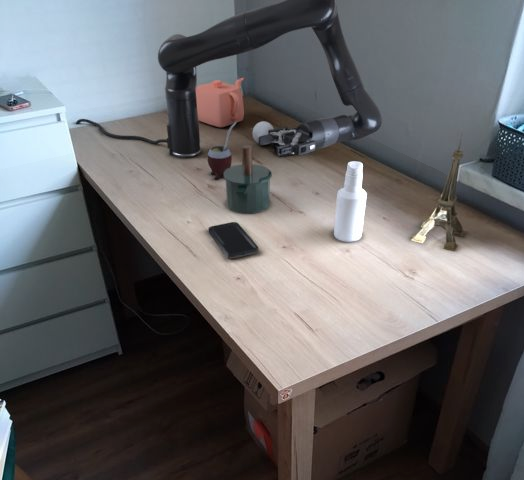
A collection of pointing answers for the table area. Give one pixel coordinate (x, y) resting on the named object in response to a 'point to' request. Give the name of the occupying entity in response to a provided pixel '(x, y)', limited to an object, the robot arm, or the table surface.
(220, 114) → the teapot
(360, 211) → the white bottle
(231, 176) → the lid
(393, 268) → the table surface
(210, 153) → the mate gourd
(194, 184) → the table surface
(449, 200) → the eiffel tower
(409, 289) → the table surface
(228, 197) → the pot
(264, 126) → the white sphere
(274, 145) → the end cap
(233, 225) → the phone
